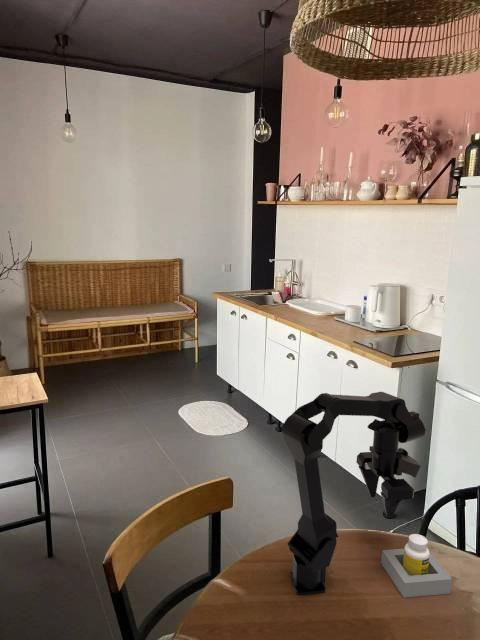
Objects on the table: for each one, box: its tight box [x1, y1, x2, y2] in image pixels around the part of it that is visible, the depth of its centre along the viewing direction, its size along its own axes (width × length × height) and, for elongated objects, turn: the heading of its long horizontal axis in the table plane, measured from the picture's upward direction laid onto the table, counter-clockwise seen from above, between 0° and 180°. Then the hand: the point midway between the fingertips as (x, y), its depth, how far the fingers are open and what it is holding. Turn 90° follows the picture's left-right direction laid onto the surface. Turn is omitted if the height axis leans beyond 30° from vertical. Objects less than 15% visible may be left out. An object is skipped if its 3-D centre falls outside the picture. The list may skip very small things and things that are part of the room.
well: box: [380, 548, 453, 599], centre depth 107 cm, size 11×11×4 cm
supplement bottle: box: [403, 533, 431, 576], centre depth 106 cm, size 5×5×10 cm
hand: (380, 507), depth 113 cm, fingers open, 9 cm apart
